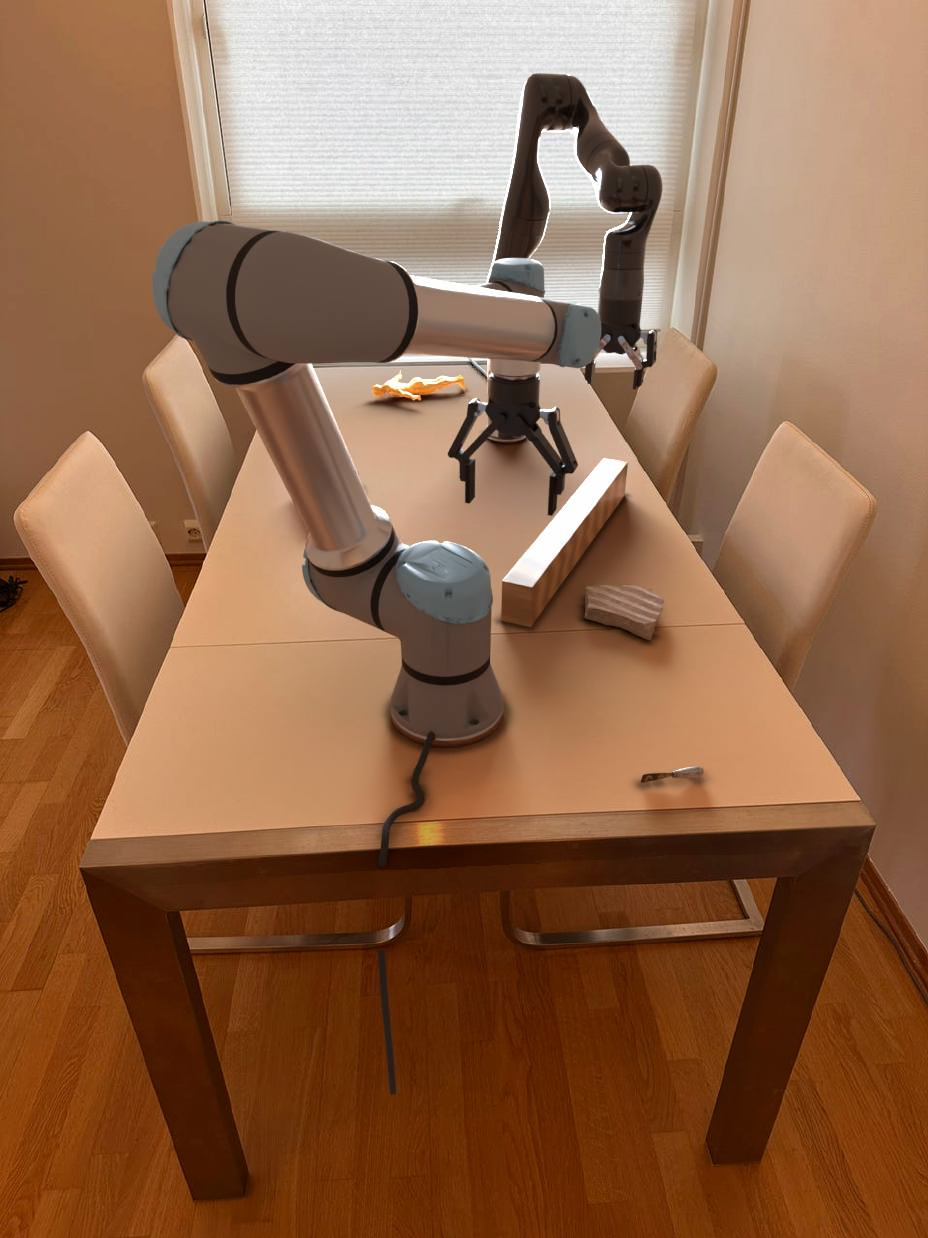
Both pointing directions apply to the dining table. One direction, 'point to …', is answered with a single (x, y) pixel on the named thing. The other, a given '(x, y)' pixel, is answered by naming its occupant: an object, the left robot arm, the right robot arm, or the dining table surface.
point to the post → (562, 544)
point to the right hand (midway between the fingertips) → (613, 385)
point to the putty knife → (674, 774)
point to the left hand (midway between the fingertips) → (510, 506)
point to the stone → (624, 608)
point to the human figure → (415, 386)
